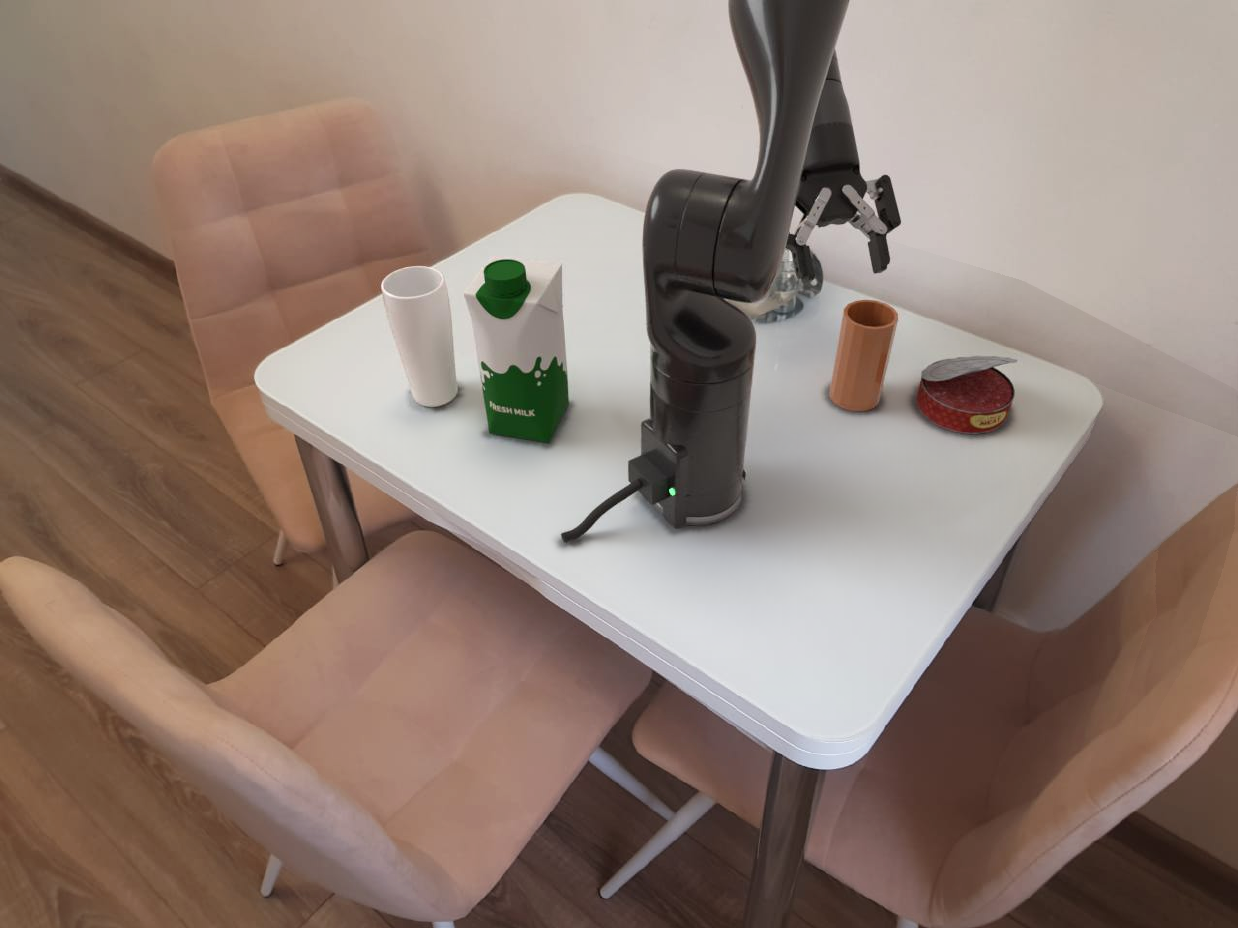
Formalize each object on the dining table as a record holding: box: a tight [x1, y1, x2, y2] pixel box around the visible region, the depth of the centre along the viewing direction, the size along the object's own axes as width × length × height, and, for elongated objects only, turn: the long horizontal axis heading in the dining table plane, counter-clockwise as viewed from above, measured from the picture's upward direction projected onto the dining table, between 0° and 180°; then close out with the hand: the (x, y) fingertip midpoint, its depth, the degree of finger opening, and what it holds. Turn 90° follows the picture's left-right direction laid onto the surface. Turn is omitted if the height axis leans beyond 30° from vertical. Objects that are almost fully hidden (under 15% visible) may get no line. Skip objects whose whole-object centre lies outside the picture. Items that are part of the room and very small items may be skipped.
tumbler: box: [828, 299, 899, 412], centre depth 97 cm, size 6×6×11 cm
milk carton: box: [463, 254, 570, 444], centre depth 92 cm, size 9×9×20 cm
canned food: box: [915, 355, 1018, 435], centre depth 97 cm, size 11×10×10 cm
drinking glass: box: [380, 265, 459, 408], centre depth 97 cm, size 7×7×15 cm
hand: (845, 276), depth 98 cm, fingers open, 8 cm apart
